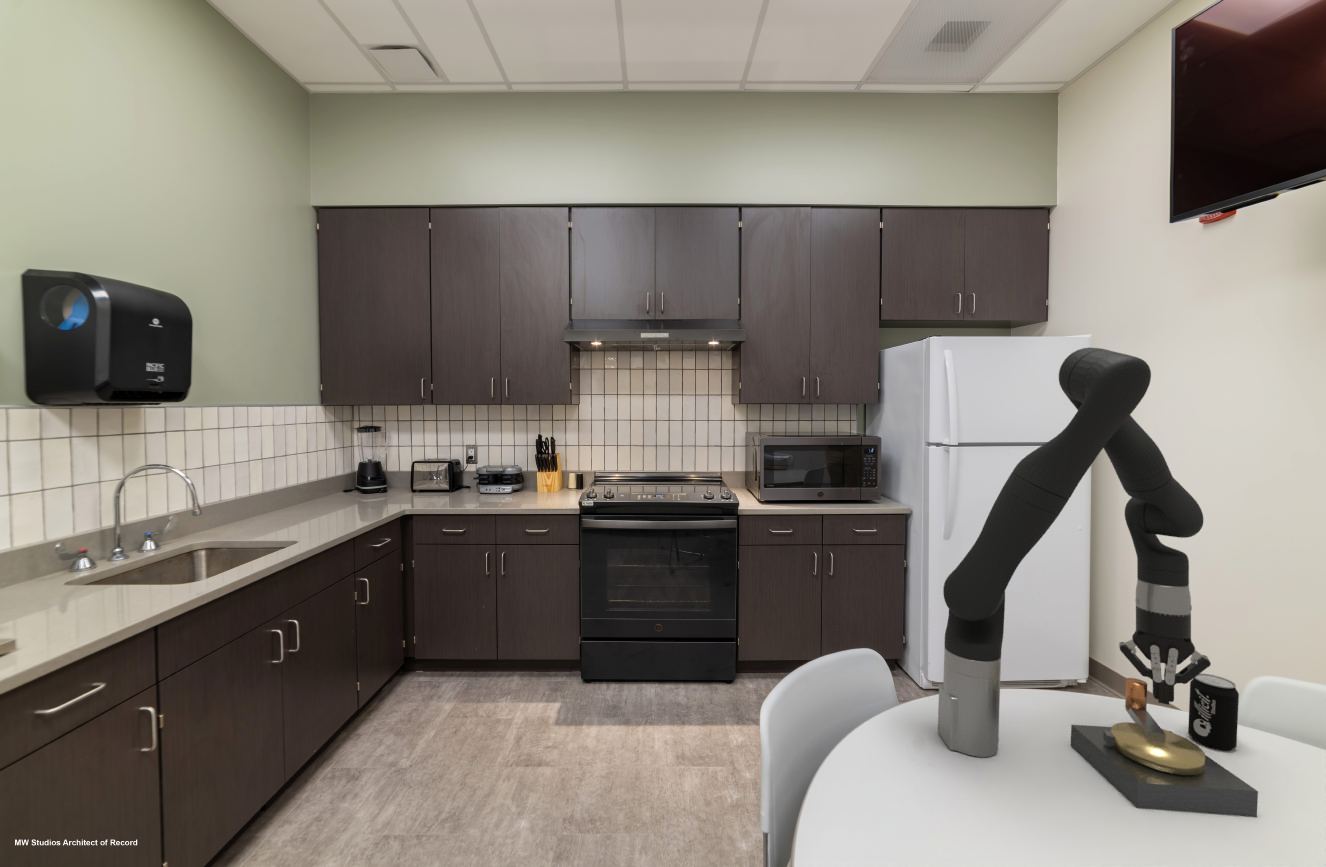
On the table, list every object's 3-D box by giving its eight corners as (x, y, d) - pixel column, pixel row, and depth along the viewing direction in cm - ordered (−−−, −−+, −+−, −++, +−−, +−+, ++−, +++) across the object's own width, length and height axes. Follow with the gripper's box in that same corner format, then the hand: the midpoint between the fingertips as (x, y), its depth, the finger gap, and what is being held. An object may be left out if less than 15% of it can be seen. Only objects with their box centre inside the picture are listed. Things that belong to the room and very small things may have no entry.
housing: (1136, 807, 89) (1138, 781, 89) (1070, 745, 106) (1071, 723, 106) (1256, 816, 88) (1258, 789, 88) (1169, 752, 105) (1170, 729, 104)
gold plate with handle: (1219, 783, 89) (1221, 732, 89) (1116, 761, 94) (1117, 713, 94) (1173, 727, 105) (1174, 684, 105) (1086, 712, 110) (1088, 670, 110)
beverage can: (1241, 757, 103) (1244, 691, 103) (1192, 745, 107) (1195, 682, 107) (1230, 740, 109) (1233, 677, 109) (1184, 729, 113) (1186, 669, 112)
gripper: (1209, 607, 103) (1209, 703, 103) (1115, 595, 110) (1115, 685, 111) (1217, 619, 97) (1217, 721, 97) (1117, 605, 104) (1117, 700, 105)
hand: (1162, 701), depth 104 cm, fingers closed
